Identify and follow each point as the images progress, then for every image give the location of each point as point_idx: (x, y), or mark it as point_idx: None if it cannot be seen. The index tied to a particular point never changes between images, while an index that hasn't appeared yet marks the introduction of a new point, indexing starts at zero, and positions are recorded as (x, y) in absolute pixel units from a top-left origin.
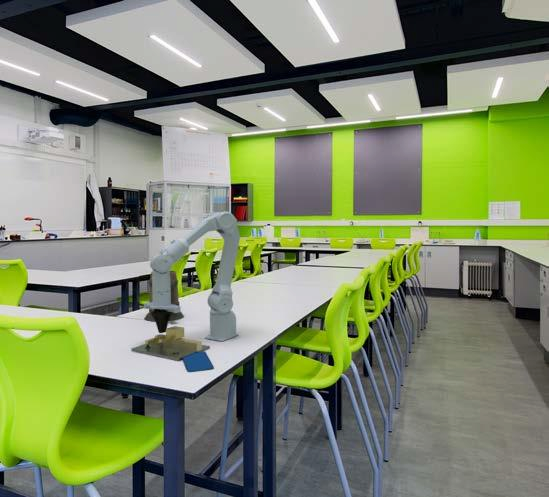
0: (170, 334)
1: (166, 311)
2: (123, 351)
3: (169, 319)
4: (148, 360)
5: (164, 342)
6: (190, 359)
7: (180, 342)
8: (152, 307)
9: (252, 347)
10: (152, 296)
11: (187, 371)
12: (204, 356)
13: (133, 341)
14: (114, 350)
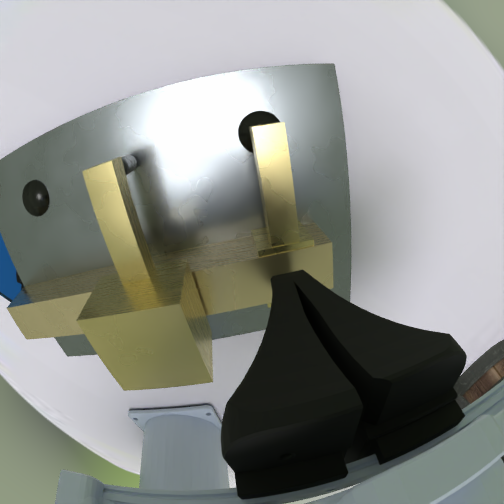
0: (136, 286)
1: (237, 483)
2: (355, 41)
3: (457, 386)
4: (84, 50)
5: (229, 247)
6: None
7: (92, 286)
8: (453, 470)
9: (37, 402)
10: None
11: None
12: None
13: (447, 192)
14: (403, 37)
